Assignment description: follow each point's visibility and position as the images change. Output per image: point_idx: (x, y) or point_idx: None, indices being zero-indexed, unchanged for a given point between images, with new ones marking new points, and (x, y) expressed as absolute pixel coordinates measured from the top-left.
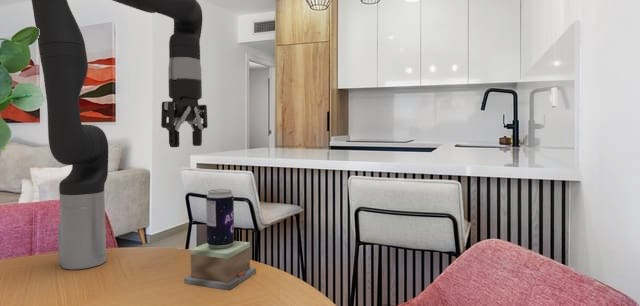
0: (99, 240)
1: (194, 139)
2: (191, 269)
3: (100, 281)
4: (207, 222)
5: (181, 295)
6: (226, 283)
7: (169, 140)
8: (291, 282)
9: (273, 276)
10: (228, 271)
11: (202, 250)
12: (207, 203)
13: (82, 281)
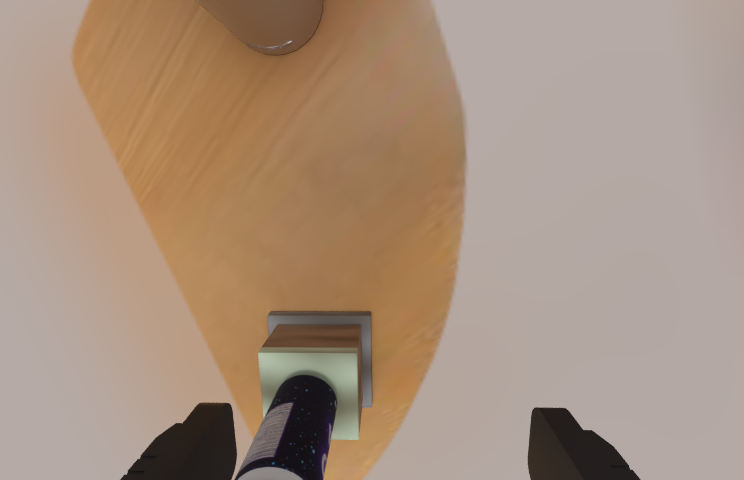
0: (258, 32)
1: (561, 470)
2: (273, 332)
3: (210, 149)
4: (263, 421)
5: (226, 340)
6: None
7: (144, 459)
8: (349, 474)
9: (364, 437)
10: None
11: (262, 379)
12: (241, 465)
13: (193, 112)
